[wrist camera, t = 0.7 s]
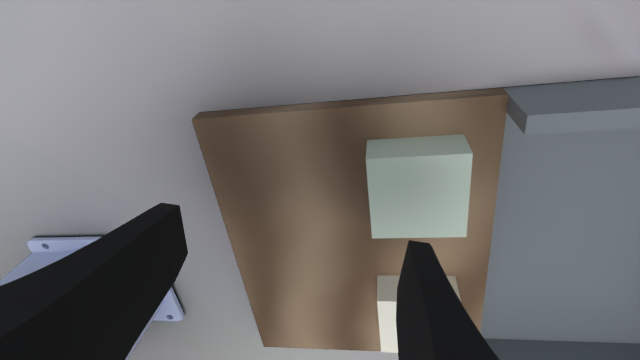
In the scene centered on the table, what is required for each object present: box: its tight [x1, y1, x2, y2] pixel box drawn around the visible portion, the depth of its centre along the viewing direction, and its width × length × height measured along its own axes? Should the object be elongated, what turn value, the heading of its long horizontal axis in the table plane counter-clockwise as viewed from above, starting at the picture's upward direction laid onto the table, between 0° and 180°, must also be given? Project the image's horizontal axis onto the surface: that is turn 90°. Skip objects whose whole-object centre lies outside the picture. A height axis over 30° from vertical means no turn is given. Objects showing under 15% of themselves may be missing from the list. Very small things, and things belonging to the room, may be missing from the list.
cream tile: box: [377, 275, 461, 353], centre depth 23 cm, size 4×4×2 cm
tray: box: [480, 76, 640, 360], centre depth 19 cm, size 11×18×4 cm, turn 7°
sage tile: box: [366, 134, 473, 238], centre depth 18 cm, size 4×4×2 cm
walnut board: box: [192, 88, 509, 351], centre depth 23 cm, size 15×18×1 cm
